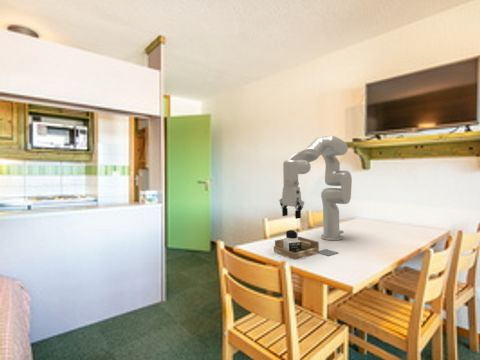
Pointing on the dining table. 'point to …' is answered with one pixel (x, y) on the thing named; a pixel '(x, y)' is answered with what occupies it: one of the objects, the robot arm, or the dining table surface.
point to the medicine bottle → (292, 242)
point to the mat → (327, 252)
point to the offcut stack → (305, 245)
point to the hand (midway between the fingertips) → (291, 217)
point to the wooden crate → (315, 250)
